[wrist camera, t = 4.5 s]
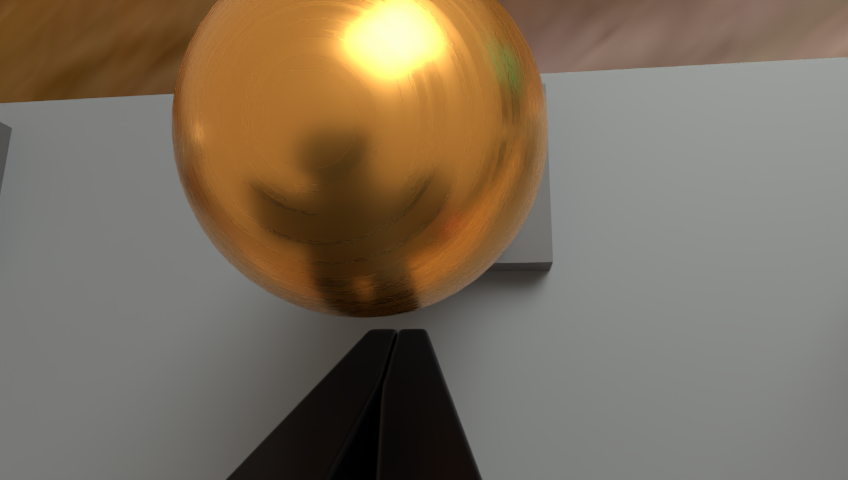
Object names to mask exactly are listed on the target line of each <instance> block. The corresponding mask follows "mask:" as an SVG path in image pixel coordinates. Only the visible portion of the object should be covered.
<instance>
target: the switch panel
mask: <svg viewBox="0 0 848 480" xmlns="http://www.w3.org/2000/svg"><path fill="white" fill-rule="evenodd" d="M540 76H541V81H542V85H543V90H544V94H545V99H546V107H547V119H548V140H547V155H546V161H545V166H544V171H543V177H542V180H541V184H540V187H539V190H538V193H537V196H536V199H535V202H534V204H533V206H532V208H531V210H530V212H529V214H528V217H527V219H526V221H525V223H524V224H523V226H522V228H521V229H520V231H519V232H518V234H517V235H516V237H515V238H514V240H513V241H512V243H511V244H510V245H509V247H508V248H507V249H506V250H505V251H504V252H503V254H502V255H501V256H500V257H499V258H498V259H497V261H496V262H495V263H494V264H493V265H492V266H490V267H489V268H488V269H487V270H486V271H485V272H484V273H483V274H482V275H481V276H479V277H478V278H477V279H476V280H474V281H473V282H472V283H470V284H469V285H467V286H466V287H464V288H463V289H461V290H460V291H458V292H457V293H455V294H453V295H451V296H449V297H447V298H445V299H443V300H441V301H439V302H437V303H435V304H433V305H430V306H427V307H424V308H421V309H418V310H416V311H412V312H407V313H403V314H398V315H393V316H385V317H371V318H356V317H339V316H333V315H328V314H323V313H318V312H314V311H311V310H308V309H305V308H302V307H299V306H296V305H293V304H291V303H289V302H287V301H284V300H282V299H280V298H278V297H276V296H274V295H272V294H270V293H269V292H267V291H266V290H264V289H263V288H261V287H260V286H258V285H257V284H255V283H253V282H252V281H250V280H249V279H247V278H246V277H245V276H244V275H243V274H242V273H240V272H239V271H238V270H237V269H236V268H235V267H233V266H232V265H231V264H230V263H229V262H228V261H227V260H226V259H225V258H224V256H223V255H222V254H221V253H220V252H219V251H218V250H217V249H216V248H215V247H214V245H213V244H212V242H211V241H210V240H209V238H208V237H207V235H206V234H205V232H204V231H203V230H202V228H201V227H200V225H199V223H198V221H197V219H196V217H195V215H194V213H193V211H192V210H191V208H190V206H189V203H188V201H187V198H186V195H185V193H184V190H183V188H182V185H181V182H180V179H179V175H178V171H177V167H176V163H175V159H174V151H173V143H172V106H173V98H174V94H164V95H146V96H128V97H109V98H91V99H73V100H54V101H36V102H18V103H0V480H226V478H227V477H228V476H229V475H230V474H231V473H232V472H233V471H234V470H235V469H236V468H237V467H238V466H239V465H240V464H241V463H242V462H243V461H244V460H245V459H246V458H247V457H248V456H249V454H250V453H251V452H252V451H253V450H254V449H255V448H256V447H257V446H258V445H259V444H260V443H261V442H262V441H263V440H264V439H265V438H266V437H267V436H268V435H269V434H270V433H271V432H272V430H273V429H274V428H275V427H276V426H277V425H278V424H279V423H280V422H281V421H282V420H283V419H284V418H285V417H286V416H287V415H288V414H289V413H290V412H291V411H292V410H293V409H294V408H295V406H296V405H297V404H298V403H299V402H300V401H301V400H302V399H303V398H304V397H305V396H306V395H307V394H308V393H309V392H310V391H311V390H312V389H313V388H314V387H315V386H316V385H317V384H318V382H319V381H320V380H321V379H322V378H323V377H324V376H325V375H326V374H327V373H328V372H329V371H330V370H331V369H332V368H333V367H334V366H335V365H336V364H337V363H338V362H339V361H340V360H341V358H342V357H343V356H344V355H345V354H346V353H347V352H348V351H349V350H350V349H351V348H352V347H353V346H354V345H355V344H356V343H357V342H358V341H359V340H360V339H361V338H362V337H363V336H364V334H365V333H366V332H368V331H369V330H371V329H395V330H396V331H397V332H399V331H400V330H401V329H425V330H426V331H427V332H428V335H429V337H430V340H431V343H432V345H433V348H434V351H435V353H436V356H437V359H438V361H439V364H440V367H441V369H442V372H443V375H444V378H445V380H446V383H447V386H448V388H449V391H450V394H451V396H452V399H453V402H454V404H455V407H456V410H457V412H458V415H459V418H460V420H461V423H462V426H463V429H464V431H465V434H466V437H467V439H468V442H469V445H470V447H471V450H472V453H473V455H474V458H475V461H476V463H477V466H478V469H479V471H480V474H481V477H482V479H483V480H848V57H840V58H822V59H803V60H785V61H767V62H749V63H730V64H712V65H694V66H676V67H657V68H639V69H621V70H602V71H584V72H566V73H548V74H540Z"/></svg>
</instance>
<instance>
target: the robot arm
mask: <svg viewBox="0 0 848 480" xmlns="http://www.w3.org/2000/svg"><path fill="white" fill-rule="evenodd" d="M226 480H483V479H482V477H481V474H480V471H479V469H478V466H477V463H476V461H475V458H474V455H473V453H472V450H471V447H470V445H469V442H468V439H467V437H466V434H465V431H464V429H463V426H462V423H461V420H460V418H459V415H458V412H457V410H456V407H455V404H454V402H453V399H452V396H451V394H450V391H449V388H448V386H447V383H446V380H445V378H444V375H443V372H442V369H441V367H440V364H439V361H438V359H437V356H436V353H435V351H434V348H433V345H432V343H431V340H430V337H429V335H428V332H427V331H426V330H425V329H401V330H400V331H399V332H397V331H396V330H395V329H371V330H369V331H368V332H366V333H365V334H364V336H363V337H362V338H361V339H360V340H359V341H358V342H357V343H356V344H355V345H354V346H353V347H352V348H351V349H350V350H349V351H348V352H347V353H346V354H345V355H344V356H343V357H342V358H341V360H340V361H339V362H338V363H337V364H336V365H335V366H334V367H333V368H332V369H331V370H330V371H329V372H328V373H327V374H326V375H325V376H324V377H323V378H322V379H321V380H320V381H319V382H318V384H317V385H316V386H315V387H314V388H313V389H312V390H311V391H310V392H309V393H308V394H307V395H306V396H305V397H304V398H303V399H302V400H301V401H300V402H299V403H298V404H297V405H296V406H295V408H294V409H293V410H292V411H291V412H290V413H289V414H288V415H287V416H286V417H285V418H284V419H283V420H282V421H281V422H280V423H279V424H278V425H277V426H276V427H275V428H274V429H273V430H272V432H271V433H270V434H269V435H268V436H267V437H266V438H265V439H264V440H263V441H262V442H261V443H260V444H259V445H258V446H257V447H256V448H255V449H254V450H253V451H252V452H251V453H250V454H249V456H248V457H247V458H246V459H245V460H244V461H243V462H242V463H241V464H240V465H239V466H238V467H237V468H236V469H235V470H234V471H233V472H232V473H231V474H230V475H229V476H228V477H227V478H226Z"/></svg>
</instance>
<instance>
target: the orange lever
mask: <svg viewBox="0 0 848 480" xmlns="http://www.w3.org/2000/svg"><path fill="white" fill-rule="evenodd" d="M547 140H548V119H547V107H546V99H545V94H544V90H543V85H542V81H541V76H540V73H539V71H538V68H537V65H536V62H535V60H534V57H533V54H532V52H531V50H530V48H529V46H528V44H527V42H526V40H525V38H524V37H523V35H522V33H521V31H520V29H519V28H518V26H517V25H516V24H515V22H514V21H513V19H512V18H511V17H510V15H509V14H508V12H507V11H506V10H505V8H504V7H503V6H502V5H501V4H500V3H499V2H498V1H497V0H218V1H217V2H216V3H215V4H214V5H213V7H212V8H211V9H210V11H209V12H208V14H207V15H206V16H205V18H204V19H203V21H202V22H201V23H200V25H199V27H198V29H197V30H196V32H195V34H194V36H193V38H192V40H191V42H190V43H189V45H188V48H187V51H186V53H185V56H184V58H183V61H182V63H181V66H180V70H179V74H178V78H177V82H176V85H175V90H174V98H173V106H172V143H173V151H174V159H175V163H176V167H177V171H178V175H179V179H180V182H181V185H182V188H183V190H184V193H185V195H186V198H187V201H188V203H189V206H190V208H191V210H192V211H193V213H194V215H195V217H196V219H197V221H198V223H199V225H200V227H201V228H202V230H203V231H204V232H205V234H206V235H207V237H208V238H209V240H210V241H211V242H212V244H213V245H214V247H215V248H216V249H217V250H218V251H219V252H220V253H221V254H222V255H223V256H224V258H225V259H226V260H227V261H228V262H229V263H230V264H231V265H232V266H233V267H235V268H236V269H237V270H238V271H239V272H240V273H242V274H243V275H244V276H245V277H246V278H247V279H249V280H250V281H252V282H253V283H255V284H257V285H258V286H260V287H261V288H263V289H264V290H266V291H267V292H269V293H270V294H272V295H274V296H276V297H278V298H280V299H282V300H284V301H287V302H289V303H291V304H293V305H296V306H299V307H302V308H305V309H308V310H311V311H314V312H318V313H323V314H328V315H333V316H339V317H356V318H371V317H385V316H393V315H398V314H403V313H407V312H412V311H416V310H418V309H421V308H424V307H427V306H430V305H433V304H435V303H437V302H439V301H441V300H443V299H445V298H447V297H449V296H451V295H453V294H455V293H457V292H458V291H460V290H461V289H463V288H464V287H466V286H467V285H469V284H470V283H472V282H473V281H474V280H476V279H477V278H478V277H479V276H481V275H482V274H483V273H484V272H485V271H486V270H487V269H488V268H489V267H490V266H492V265H493V264H494V263H495V262H496V261H497V259H498V258H499V257H500V256H501V255H502V254H503V252H504V251H505V250H506V249H507V248H508V247H509V245H510V244H511V243H512V241H513V240H514V238H515V237H516V235H517V234H518V232H519V231H520V229H521V228H522V226H523V224H524V223H525V221H526V219H527V217H528V214H529V212H530V210H531V208H532V206H533V204H534V202H535V199H536V196H537V193H538V190H539V187H540V184H541V180H542V177H543V171H544V166H545V161H546V155H547Z"/></svg>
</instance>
